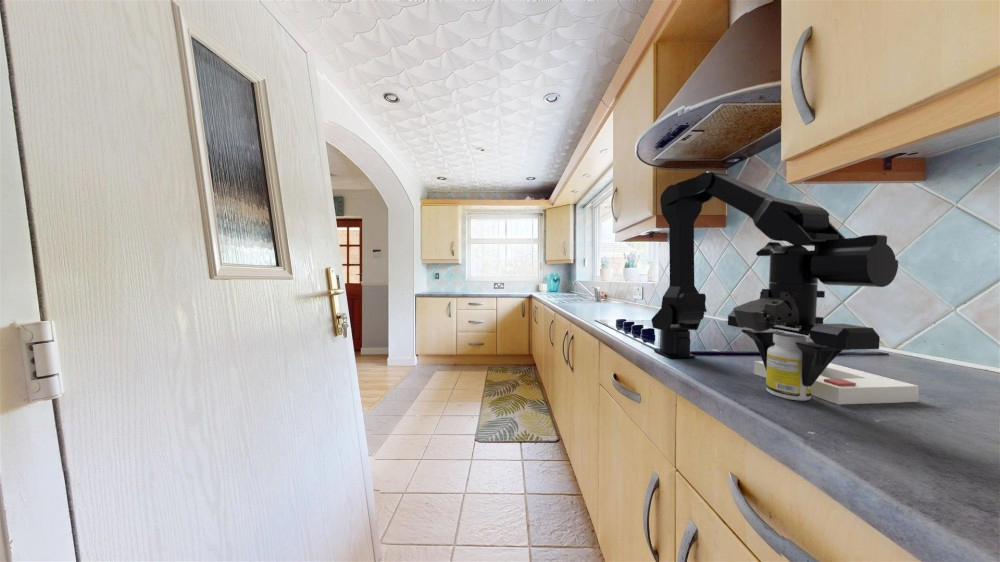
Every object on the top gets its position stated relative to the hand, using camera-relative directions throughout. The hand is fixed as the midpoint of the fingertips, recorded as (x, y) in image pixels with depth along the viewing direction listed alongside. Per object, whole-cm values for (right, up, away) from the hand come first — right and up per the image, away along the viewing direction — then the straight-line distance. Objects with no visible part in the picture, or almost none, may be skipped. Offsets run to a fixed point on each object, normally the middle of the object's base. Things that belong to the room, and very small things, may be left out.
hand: (787, 379), depth 51 cm
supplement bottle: (0, -3, 0) cm, 3 cm away
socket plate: (+11, -3, +4) cm, 12 cm away
